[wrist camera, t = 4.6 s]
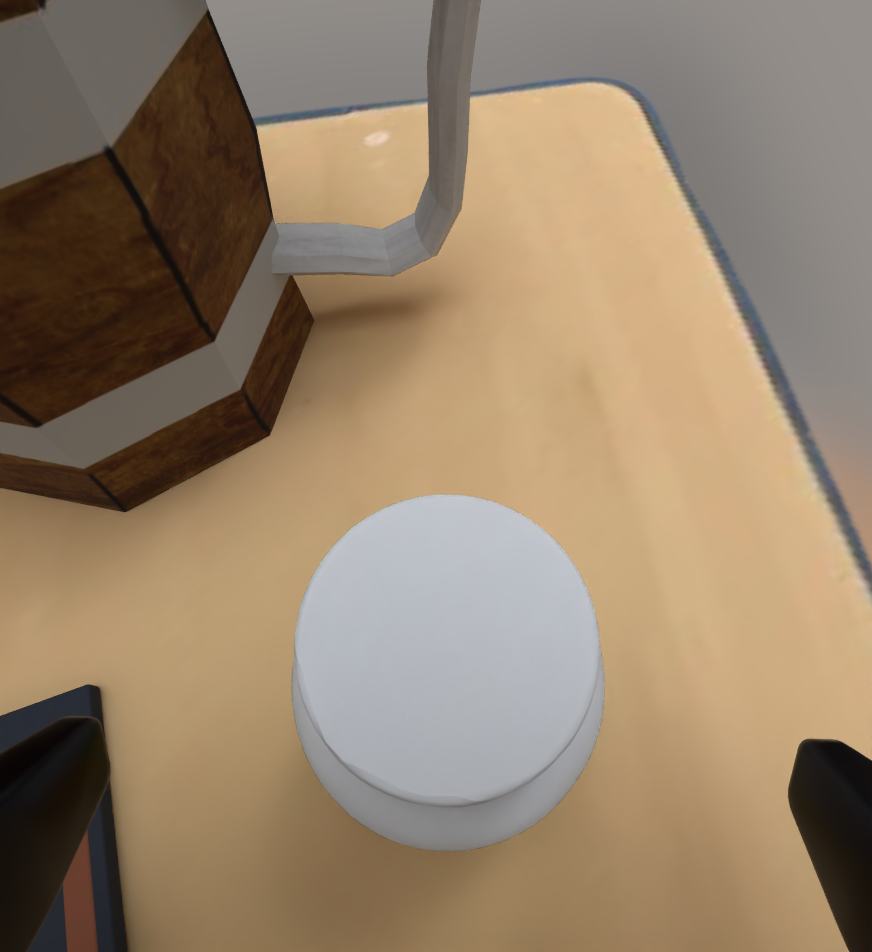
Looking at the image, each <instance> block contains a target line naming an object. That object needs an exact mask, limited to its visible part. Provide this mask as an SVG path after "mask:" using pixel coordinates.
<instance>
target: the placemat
mask: <svg viewBox="0 0 872 952" xmlns="http://www.w3.org/2000/svg"><path fill="white" fill-rule="evenodd" d="M67 716H83V717H94V718H97V719H98V720H99V721H100V723H101V725H102V729H103V719H102V710H101V700H100V691H99V687H97V686H93V685H85V686H82V687H79V688H76V689H74V690H71V691H68V692H65V693H63V694H60V695H57V696H54V697H52V698H49V699H46V700H43V701H41V702H38V703H35V704H32V705H29V706H27V707H24V708H21V709H18V710H16V711H13V712H10V713H7V714H5V715H2V716H0V752H2V751H4V750H5V749H7V748H9V747H11V746H12V745H14V744H16V743H18V742H20V741H21V740H23V739H25V738H27V737H28V736H30V735H32V734H34V733H35V732H37V731H39V730H41V729H43V728H44V727H46V726H48V725H50V724H51V723H53V722H55V721H57V720H59V719H61V718H63V717H67ZM103 734H104V729H103ZM27 952H127V946H126V937H125V927H124V918H123V908H122V899H121V889H120V880H119V871H118V861H117V852H116V842H115V833H114V823H113V814H112V804H111V795H110V785H109V781H108V785H107V787H106V790H105V792H104V794H103V796H102V799H101V801H100V803H99V805H98V807H97V810H96V812H95V814H94V816H93V818H92V820H91V823H90V825H89V827H88V829H87V831H86V834H85V836H84V838H83V840H82V842H81V845H80V847H79V849H78V851H77V853H76V856H75V858H74V860H73V862H72V864H71V867H70V869H69V871H68V873H67V875H66V878H65V880H64V882H63V884H62V886H61V888H60V891H59V893H58V895H57V897H56V899H55V901H54V903H53V905H52V907H51V909H50V911H49V913H48V915H47V917H46V919H45V921H44V922H43V924H42V926H41V928H40V930H39V932H38V934H37V935H36V937H35V939H34V941H33V942H32V944H31V946H30V948H29V950H28V951H27Z"/></svg>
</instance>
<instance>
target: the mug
mask: <svg viewBox="0 0 872 952" xmlns="http://www.w3.org/2000/svg"><path fill="white" fill-rule="evenodd" d="M480 4H481V0H434V1H433V10H432V19H431V29H430V38H429V47H428V61H427V80H428V81H427V82H428V129H429V177H428V179H427V182H426V184H425V187H424V190H423V192H422V195H421V197H420V200H419V203H418V205H417V208H416V210H415V213H413V214H412V215H410V216H408V217H406V218H404V219H402V220H400V221H398V222H396V223H394V224H392V225H390V226H388V227H386V228H384V229H376V228H369V227H362V226H354V225H347V224H340V223H286V224H275V221H274V218H273V213H272V208H271V203H270V198H269V192H268V187H267V182H266V177H265V171H264V166H263V161H262V156H261V150H260V145H259V140H258V134H257V129H256V126H255V124H254V121H253V119H252V116H251V114H250V112H249V109H248V106H247V104H246V101H245V99H244V96H243V94H242V91H241V89H240V87H239V84H238V81H237V79H236V77H235V74H234V72H233V69H232V67H231V64H230V62H229V59H228V57H227V54H226V52H225V49H224V47H223V44H222V42H221V39H220V37H219V34H218V32H217V29H216V27H215V25H214V22H213V19H212V17H211V15H210V12H209V9H208V6H207V4H206V0H0V487H1V488H6V489H11V490H16V491H21V492H26V493H31V494H36V495H42V496H47V497H52V498H57V499H62V500H67V501H72V502H77V503H82V504H87V505H92V506H98V507H103V508H108V509H113V510H118V511H123V512H126V511H127V510H129V509H131V508H133V507H135V506H137V505H139V504H141V503H142V502H144V501H146V500H148V499H150V498H152V497H154V496H156V495H157V494H159V493H161V492H163V491H165V490H167V489H169V488H171V487H172V486H174V485H176V484H178V483H180V482H182V481H184V480H186V479H187V478H189V477H191V476H193V475H195V474H197V473H199V472H201V471H203V470H204V469H206V468H208V467H210V466H212V465H214V464H216V463H218V462H219V461H221V460H223V459H225V458H227V457H229V456H231V455H233V454H234V453H236V452H238V451H240V450H242V449H244V448H246V447H248V446H249V445H251V444H253V443H255V442H257V441H259V440H261V439H263V438H264V437H266V436H268V435H270V432H271V430H272V427H273V424H274V422H275V419H276V417H277V414H278V412H279V409H280V406H281V404H282V401H283V399H284V396H285V394H286V391H287V388H288V386H289V383H290V381H291V378H292V376H293V373H294V370H295V368H296V365H297V363H298V360H299V358H300V355H301V352H302V350H303V347H304V345H305V342H306V340H307V337H308V334H309V332H310V329H311V327H312V324H313V322H314V319H313V317H312V315H311V313H310V311H309V308H308V306H307V304H306V302H305V300H304V298H303V296H302V294H301V292H300V290H299V288H298V286H297V284H296V282H295V280H294V278H293V276H292V275H335V274H344V275H368V276H391V277H393V276H395V275H397V274H399V273H401V272H403V271H405V270H407V269H409V268H411V267H413V266H415V265H417V264H419V263H421V262H424V261H426V260H428V259H430V258H432V257H434V256H436V255H437V254H438V252H439V250H440V248H441V246H442V245H443V243H444V241H445V239H446V237H447V235H448V233H449V231H450V229H451V228H452V226H453V224H454V222H455V220H456V218H457V216H458V214H459V212H460V211H461V209H462V200H463V190H464V181H465V172H466V162H467V153H468V132H469V107H470V82H471V70H472V63H473V56H474V48H475V40H476V33H477V26H478V19H479V11H480Z"/></svg>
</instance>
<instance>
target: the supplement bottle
mask: <svg viewBox="0 0 872 952" xmlns="http://www.w3.org/2000/svg"><path fill="white" fill-rule="evenodd" d="M604 694H605V680H604V669H603V661H602V655H601V651H600V640H599V630H598V623H597V618H596V614H595V610H594V606H593V603H592V600H591V598H590V595H589V592H588V590H587V587H586V585H585V583H584V581H583V578H582V577H581V575H580V573H579V572H578V570H577V568H576V567H575V565H574V563H573V562H572V560H571V558H570V557H569V556H568V555H567V553H566V552H565V551H564V550H563V549H562V547H561V546H560V545H559V544H558V543H557V542H556V541H555V540H554V539H553V538H552V537H551V536H550V535H549V534H548V533H547V532H546V531H545V530H544V529H542V528H541V527H540V526H538V525H537V524H536V523H534V522H533V521H531V520H530V519H528V518H527V517H525V516H523V515H522V514H520V513H518V512H516V511H515V510H513V509H510V508H508V507H506V506H504V505H501V504H499V503H496V502H493V501H489V500H486V499H482V498H477V497H472V496H465V495H446V494H444V495H429V496H421V497H417V498H413V499H409V500H405V501H401V502H398V503H395V504H392V505H389V506H387V507H386V508H384V509H382V510H379V511H377V512H375V513H373V514H371V515H370V516H368V517H367V518H365V519H364V520H362V521H361V522H359V523H358V524H356V525H355V526H353V527H352V528H351V529H350V530H349V531H348V532H347V533H346V534H345V535H344V536H343V537H341V538H340V539H339V540H338V541H337V542H336V543H335V544H334V546H333V547H332V548H331V549H330V550H329V552H328V553H327V554H326V556H325V557H324V558H323V560H322V561H321V563H320V564H319V566H318V568H317V569H316V571H315V573H314V574H313V576H312V578H311V580H310V582H309V585H308V587H307V589H306V592H305V594H304V597H303V600H302V603H301V606H300V610H299V614H298V620H297V625H296V631H295V640H294V663H293V670H292V702H293V711H294V717H295V722H296V727H297V732H298V735H299V738H300V741H301V744H302V747H303V749H304V752H305V755H306V757H307V759H308V761H309V763H310V765H311V767H312V769H313V771H314V773H315V774H316V776H317V778H318V779H319V781H320V782H321V784H322V785H323V787H324V788H325V790H326V791H327V792H328V793H329V794H330V796H331V797H332V798H333V799H334V800H335V801H336V802H337V803H338V804H339V806H340V807H341V808H342V809H343V810H345V811H346V812H347V813H348V814H349V815H350V816H351V817H353V818H354V819H355V820H357V821H358V822H359V823H360V824H362V825H363V826H365V827H367V828H368V829H370V830H372V831H373V832H375V833H377V834H379V835H381V836H383V837H385V838H387V839H389V840H391V841H394V842H397V843H400V844H403V845H406V846H410V847H414V848H418V849H424V850H432V851H465V850H472V849H479V848H483V847H486V846H490V845H493V844H496V843H499V842H501V841H504V840H507V839H509V838H511V837H513V836H515V835H517V834H519V833H521V832H523V831H525V830H526V829H528V828H530V827H531V826H533V825H534V824H536V823H537V822H538V821H540V820H541V819H542V818H543V817H545V816H546V815H547V814H548V813H549V812H550V811H551V810H552V809H553V808H554V807H556V806H557V805H558V804H559V803H560V801H561V800H562V799H563V798H564V797H565V795H566V794H567V793H568V792H569V790H570V789H571V787H572V786H573V785H574V783H575V782H576V781H577V779H578V778H579V776H580V774H581V773H582V771H583V769H584V767H585V765H586V764H587V762H588V760H589V758H590V756H591V753H592V750H593V748H594V745H595V743H596V740H597V737H598V733H599V730H600V726H601V721H602V715H603V708H604Z"/></svg>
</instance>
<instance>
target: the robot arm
mask: <svg viewBox="0 0 872 952" xmlns="http://www.w3.org/2000/svg"><path fill="white" fill-rule="evenodd" d="M109 777H110V762H109V757H108V752H107V748H106V743H105V738H104V734H103V729H102V725H101V723H100V721H99V720H98V719H97V718H94V717H83V716H67V717H63V718H61V719H59V720H57V721H55V722H53V723H51V724H50V725H48V726H46V727H44V728H43V729H41V730H39V731H37V732H35V733H34V734H32V735H30V736H28V737H27V738H25V739H23V740H21V741H20V742H18V743H16V744H14V745H12V746H11V747H9V748H7V749H5V750H4V751H2V752H0V952H27V951H28V950H29V948H30V946H31V944H32V942H33V941H34V939H35V937H36V935H37V934H38V932H39V930H40V928H41V926H42V924H43V922H44V921H45V919H46V917H47V915H48V913H49V911H50V909H51V907H52V905H53V903H54V901H55V899H56V897H57V895H58V893H59V891H60V888H61V886H62V884H63V882H64V880H65V878H66V875H67V873H68V871H69V869H70V867H71V864H72V862H73V860H74V858H75V856H76V853H77V851H78V849H79V847H80V845H81V842H82V840H83V838H84V836H85V834H86V831H87V829H88V827H89V825H90V823H91V820H92V818H93V816H94V814H95V812H96V810H97V807H98V805H99V803H100V801H101V799H102V796H103V794H104V792H105V790H106V787H107V785H108V781H109ZM788 799H789V805H790V808H791V811H792V814H793V817H794V819H795V821H796V824H797V826H798V829H799V831H800V834H801V836H802V839H803V841H804V844H805V846H806V849H807V851H808V854H809V856H810V859H811V861H812V864H813V866H814V869H815V871H816V873H817V876H818V878H819V881H820V883H821V886H822V888H823V891H824V893H825V896H826V898H827V901H828V903H829V906H830V908H831V911H832V913H833V916H834V918H835V920H836V923H837V925H838V928H839V930H840V932H841V934H842V937H843V939H844V941H845V944H846V946H847V948H848V950H849V952H872V760H870V759H868V758H867V757H865V756H864V755H862V754H860V753H859V752H857V751H856V750H854V749H853V748H851V747H849V746H848V745H846V744H844V743H843V742H841V741H838V740H833V739H806V740H803V741H802V742H801V743H800V745H799V747H798V751H797V755H796V759H795V763H794V767H793V771H792V775H791V779H790V783H789V788H788Z"/></svg>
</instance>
